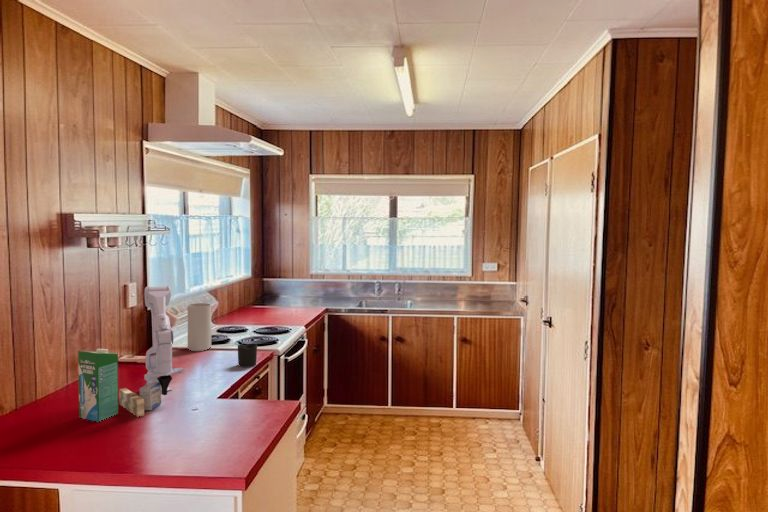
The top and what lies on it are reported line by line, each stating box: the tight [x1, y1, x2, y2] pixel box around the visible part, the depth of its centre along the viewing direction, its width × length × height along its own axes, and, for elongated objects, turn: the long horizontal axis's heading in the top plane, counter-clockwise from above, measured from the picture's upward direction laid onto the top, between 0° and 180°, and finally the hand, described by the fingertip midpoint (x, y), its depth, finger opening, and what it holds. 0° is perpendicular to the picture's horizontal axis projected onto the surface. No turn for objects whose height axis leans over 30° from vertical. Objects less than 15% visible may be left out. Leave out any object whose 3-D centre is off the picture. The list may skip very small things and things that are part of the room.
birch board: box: [118, 387, 145, 418], centre depth 197 cm, size 18×2×6 cm, turn 46°
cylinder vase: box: [187, 302, 212, 352], centre depth 292 cm, size 12×12×25 cm
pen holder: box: [237, 343, 258, 367], centre depth 262 cm, size 9×9×10 cm
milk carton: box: [77, 348, 119, 423], centre depth 189 cm, size 9×9×25 cm
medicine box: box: [139, 382, 162, 411], centre depth 200 cm, size 8×4×9 cm, turn 177°
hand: (164, 394), depth 205 cm, fingers closed
